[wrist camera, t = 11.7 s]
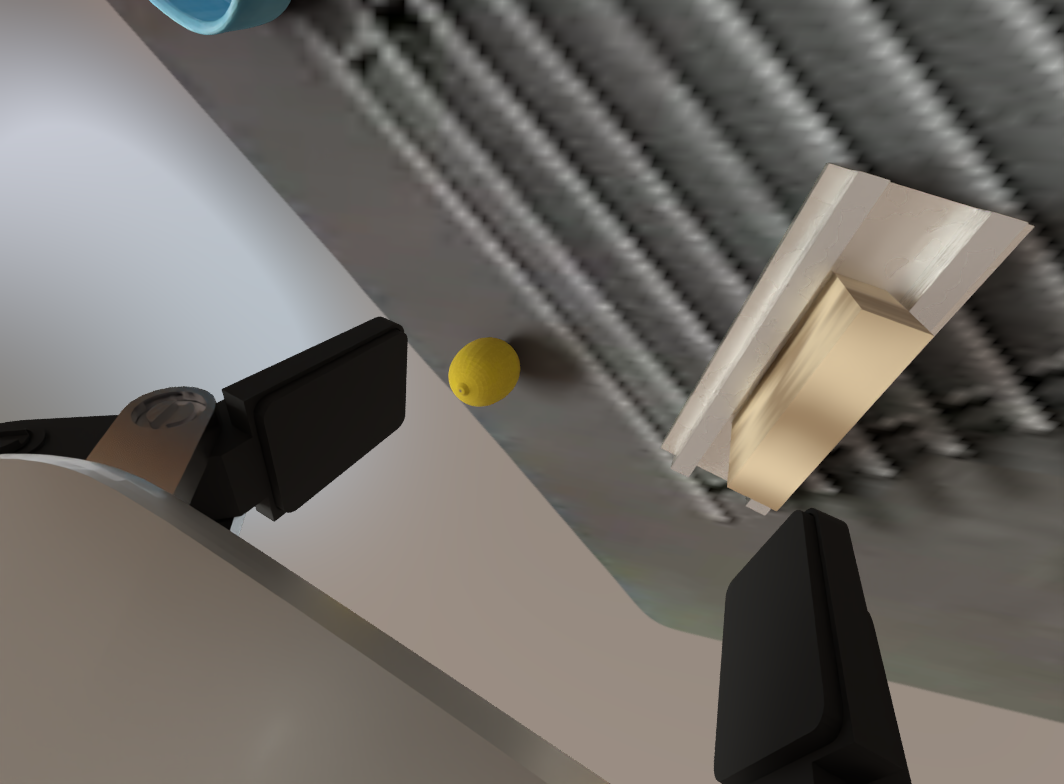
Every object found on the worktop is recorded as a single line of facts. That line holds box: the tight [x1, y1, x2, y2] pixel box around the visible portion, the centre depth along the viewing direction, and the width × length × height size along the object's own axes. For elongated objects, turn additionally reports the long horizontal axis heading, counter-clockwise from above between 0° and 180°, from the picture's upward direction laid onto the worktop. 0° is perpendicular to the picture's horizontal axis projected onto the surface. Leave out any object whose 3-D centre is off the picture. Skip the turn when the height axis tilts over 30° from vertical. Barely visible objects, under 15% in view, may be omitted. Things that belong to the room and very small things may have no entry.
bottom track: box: [661, 163, 1035, 515], centre depth 28 cm, size 22×10×3 cm, turn 164°
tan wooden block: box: [727, 272, 934, 511], centre depth 25 cm, size 12×3×8 cm, turn 164°
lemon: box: [449, 337, 520, 407], centre depth 36 cm, size 6×6×8 cm
